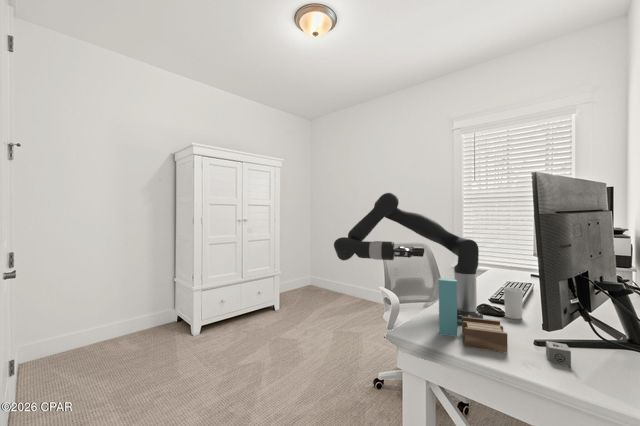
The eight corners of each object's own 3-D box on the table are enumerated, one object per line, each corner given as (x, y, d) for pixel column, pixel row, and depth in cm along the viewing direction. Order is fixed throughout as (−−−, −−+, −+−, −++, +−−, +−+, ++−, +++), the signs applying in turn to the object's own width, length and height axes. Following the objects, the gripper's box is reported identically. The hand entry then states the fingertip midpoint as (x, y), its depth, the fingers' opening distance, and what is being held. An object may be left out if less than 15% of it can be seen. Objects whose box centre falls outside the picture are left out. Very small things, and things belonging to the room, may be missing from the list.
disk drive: (456, 316, 127) (454, 327, 114) (455, 310, 127) (454, 320, 114) (482, 320, 122) (484, 332, 109) (482, 313, 122) (484, 325, 109)
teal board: (439, 331, 108) (438, 278, 108) (456, 333, 105) (456, 279, 106) (439, 334, 105) (438, 280, 105) (457, 337, 103) (456, 281, 103)
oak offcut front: (467, 342, 98) (467, 325, 98) (501, 347, 94) (501, 329, 94) (468, 345, 96) (468, 327, 96) (502, 350, 92) (502, 331, 92)
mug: (526, 320, 120) (525, 291, 120) (508, 319, 121) (508, 290, 121) (514, 312, 130) (514, 285, 130) (498, 311, 131) (498, 285, 131)
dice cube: (546, 356, 90) (545, 340, 90) (566, 360, 87) (566, 344, 87) (549, 364, 85) (548, 347, 85) (571, 368, 83) (570, 351, 83)
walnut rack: (462, 334, 106) (461, 316, 106) (499, 339, 102) (499, 320, 102) (465, 348, 95) (465, 328, 95) (507, 355, 91) (507, 333, 91)
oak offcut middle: (466, 339, 100) (466, 322, 100) (500, 344, 96) (499, 326, 96) (467, 342, 98) (467, 324, 98) (501, 347, 94) (501, 328, 94)
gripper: (378, 243, 111) (423, 244, 105) (384, 239, 124) (424, 241, 118) (378, 262, 111) (423, 264, 105) (384, 257, 124) (424, 259, 118)
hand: (423, 252), depth 111 cm, fingers open, 8 cm apart
